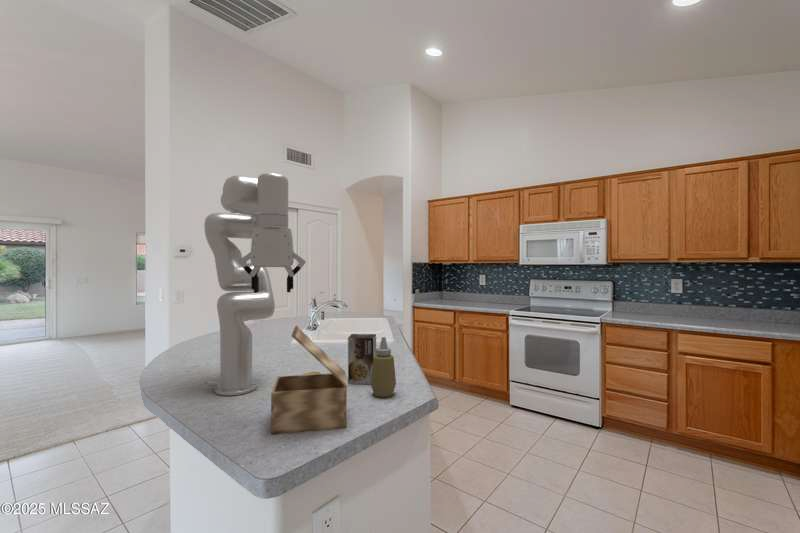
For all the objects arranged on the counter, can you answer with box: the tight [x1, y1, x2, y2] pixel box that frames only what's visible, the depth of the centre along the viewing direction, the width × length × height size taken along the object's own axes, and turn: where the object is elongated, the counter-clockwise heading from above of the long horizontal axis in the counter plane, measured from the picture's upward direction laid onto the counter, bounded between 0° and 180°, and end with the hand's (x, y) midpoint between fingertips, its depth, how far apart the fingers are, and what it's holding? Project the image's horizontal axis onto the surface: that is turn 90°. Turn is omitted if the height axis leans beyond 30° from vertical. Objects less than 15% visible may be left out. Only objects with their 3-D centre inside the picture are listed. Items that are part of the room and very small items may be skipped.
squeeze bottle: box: [370, 336, 397, 398], centre depth 115 cm, size 8×8×18 cm
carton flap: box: [291, 325, 349, 388], centre depth 97 cm, size 19×13×1 cm
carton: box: [270, 372, 348, 435], centre depth 97 cm, size 18×13×10 cm
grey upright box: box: [347, 333, 377, 385], centre depth 128 cm, size 9×6×16 cm
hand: (272, 291), depth 94 cm, fingers open, 7 cm apart
